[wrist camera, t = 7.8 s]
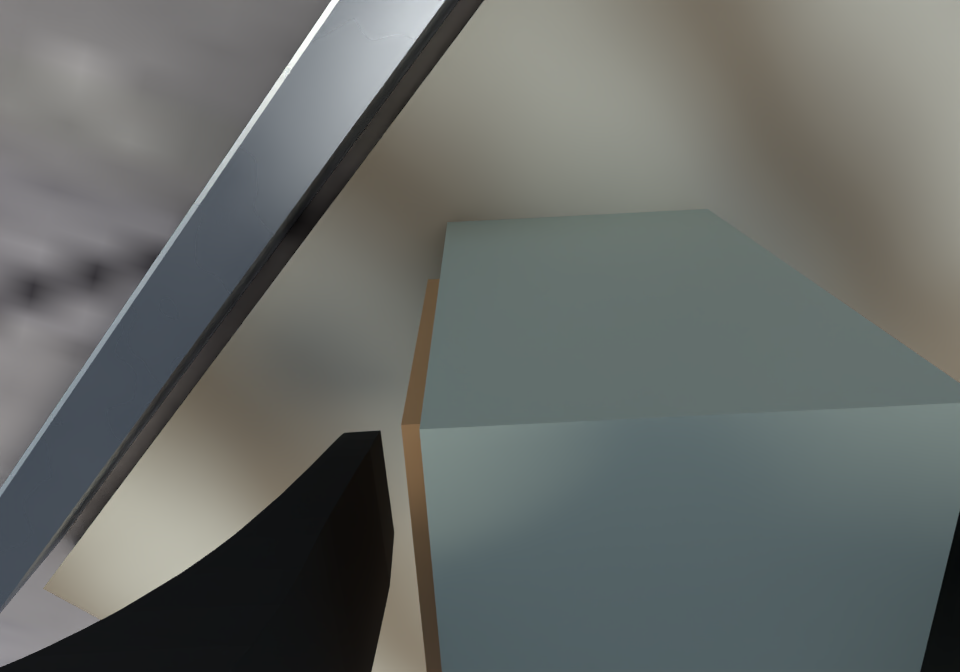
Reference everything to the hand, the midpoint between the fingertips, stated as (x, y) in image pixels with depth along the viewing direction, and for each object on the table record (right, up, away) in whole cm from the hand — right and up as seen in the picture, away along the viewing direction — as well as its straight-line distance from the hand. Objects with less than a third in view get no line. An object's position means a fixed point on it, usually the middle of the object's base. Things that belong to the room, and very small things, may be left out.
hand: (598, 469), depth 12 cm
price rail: (-5, +6, +3) cm, 9 cm away
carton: (0, +1, +3) cm, 4 cm away
